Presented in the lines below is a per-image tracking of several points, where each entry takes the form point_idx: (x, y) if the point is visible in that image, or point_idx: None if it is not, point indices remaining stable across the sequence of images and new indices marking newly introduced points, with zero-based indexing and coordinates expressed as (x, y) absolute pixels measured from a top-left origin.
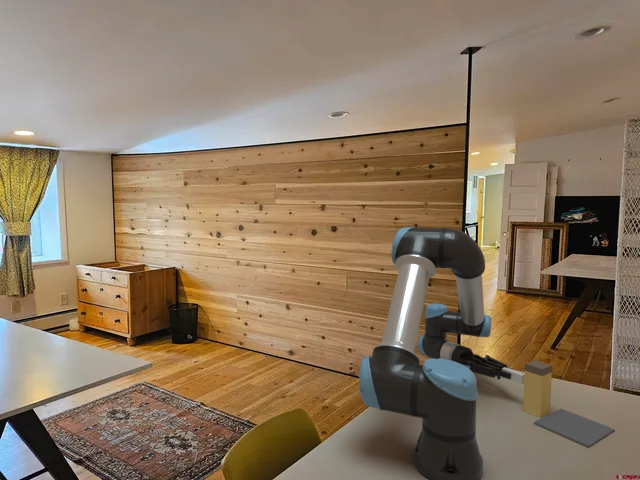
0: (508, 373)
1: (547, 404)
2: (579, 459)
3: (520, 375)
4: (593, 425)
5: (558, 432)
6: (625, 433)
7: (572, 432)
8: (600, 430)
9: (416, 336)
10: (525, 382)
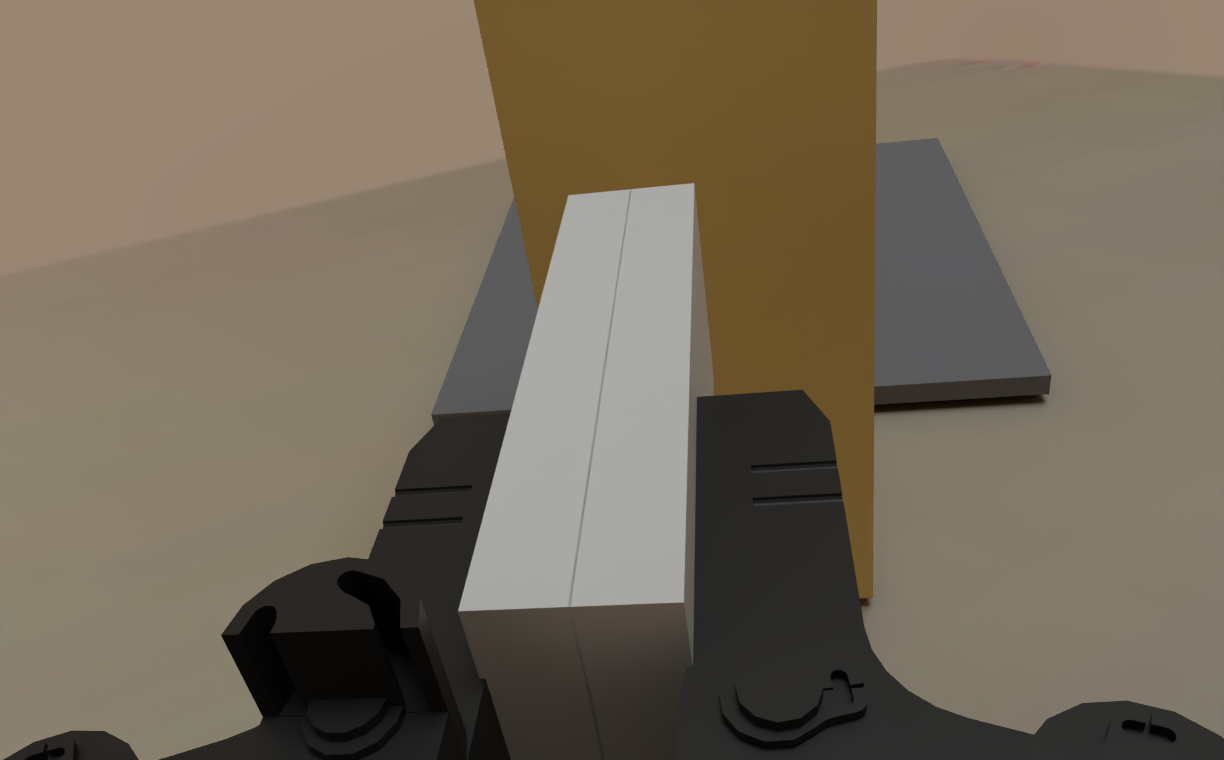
0: (751, 433)
1: None
2: (1132, 129)
3: (696, 211)
4: None
5: (980, 240)
6: (491, 180)
7: None
8: None
9: None
10: (874, 136)
